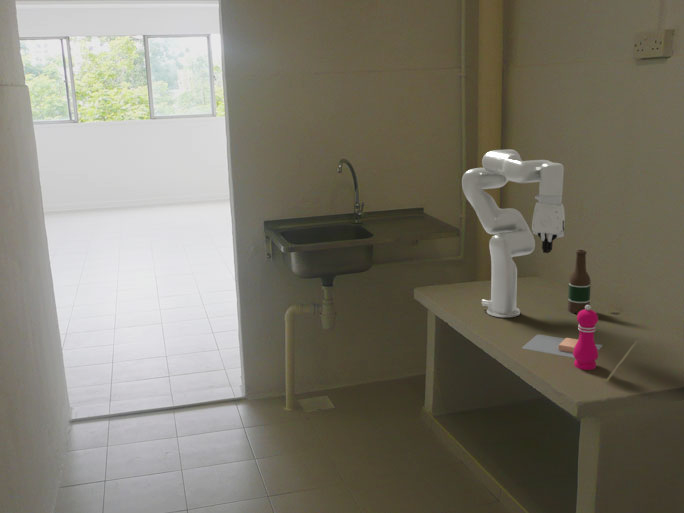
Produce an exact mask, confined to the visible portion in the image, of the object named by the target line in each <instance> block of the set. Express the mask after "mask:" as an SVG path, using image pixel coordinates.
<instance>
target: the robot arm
mask: <svg viewBox="0 0 684 513" xmlns="http://www.w3.org/2000/svg"><path fill="white" fill-rule="evenodd" d="M481 165H482V167H476V168H471V169H468V170H467V171H465V172H464V173H463V175H462V178H461V188H462V192H463V194H464V196H465V198H466V200H467V201H468V202H469V203H470V205H471V207H472V208H473V210H474V211H475V213H476V216H477V217H478V220H479V222H480V224H481V225H482V228H483V229H484V231H485V232H486V233H487V234H489V235H492V236H491V238H490V239H489V243H488V245H489V254H490V262H491V280H490V281H491V282H490V284H491V286H490V299H489V300H487V299H481V306H483V307H488V308H486V314H487V315H489V316H492V317H495V318H506V319H508V318H515V317H517V316H519V315H520V314H521V310H520V309H519V308H518V307H517V290H518V288H517V285H518V268H517V265H516V263H515V261H514V260H513V258H514V257H521V256H527V255H530V254H531V253H533V252H534V250H535V247H536V240H535V238H534V237H535V236H538V237H539V239H541V240H540V241H541V242H542V244H541V249H542V253H544V254H549V253H551V252H552V251H553V241H554V240H556V239H558V238H564V237H565V233H564V231H565V222H566V221H565V220H566V219H565V216H566V215H565V207H564V204H563V203H562V201H563V187H564V186H563V185H564V174H565V173H564V170H565V169H564V165H563V163H559V162H552V161H550V160H547V159H533V160H522V158H521V155H520V153H519V152H518V151H516V150H515V149H496V150H495V149H494V150H490V151H488V152H486V153H485V154H484V155H483V157H482V159H481ZM508 182H512V183H513V182H514V183H517V184H528V183H539V188H538V194H535V196H534V199H535V200H537V202H536V203H535V206H534V208H533V209H534V210H533V214H532V221H531V229H530V227H529V225H528V223H527V222H526V219H525V218H524V216H523V214H522V213H521V211H519V210H518V209H515V208H513V207H512V208H510V207H509V208H500V207H499V205H497V203H496V201H495V198H493V196H492V195H490V194H489V193H487V192H486V191H485V190H488V189H489V190H490V189H498V188H499V189H500V188H502V187H505V185H506V184H507V183H508ZM534 235H535V236H534Z"/></svg>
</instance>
